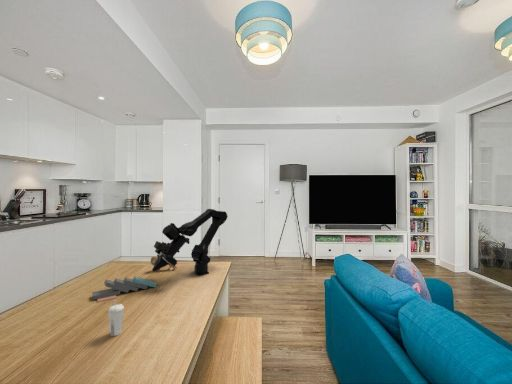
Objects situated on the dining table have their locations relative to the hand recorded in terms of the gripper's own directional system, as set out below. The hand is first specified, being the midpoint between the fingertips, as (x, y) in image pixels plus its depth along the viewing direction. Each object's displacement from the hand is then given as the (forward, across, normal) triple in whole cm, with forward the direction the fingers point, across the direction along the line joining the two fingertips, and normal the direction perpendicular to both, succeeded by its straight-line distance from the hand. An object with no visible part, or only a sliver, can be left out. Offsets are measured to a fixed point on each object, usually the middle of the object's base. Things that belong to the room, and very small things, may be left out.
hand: (152, 270), depth 121 cm
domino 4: (+7, 0, +2) cm, 7 cm away
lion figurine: (-2, -20, +13) cm, 24 cm away
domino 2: (+12, 0, -3) cm, 13 cm away
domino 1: (+15, 0, -6) cm, 16 cm away
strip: (+19, 0, -9) cm, 21 cm away
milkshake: (+20, +34, -9) cm, 41 cm away
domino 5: (+4, 0, +5) cm, 7 cm away
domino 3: (+10, 0, 0) cm, 10 cm away
